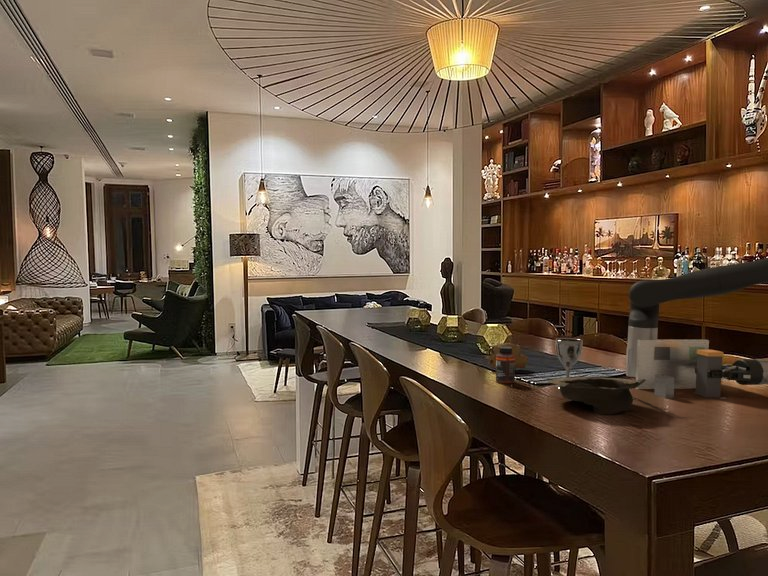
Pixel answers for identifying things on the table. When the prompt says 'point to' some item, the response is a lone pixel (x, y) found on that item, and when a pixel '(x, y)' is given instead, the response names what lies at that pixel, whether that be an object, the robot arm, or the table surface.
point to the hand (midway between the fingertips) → (702, 372)
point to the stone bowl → (599, 392)
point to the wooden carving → (519, 358)
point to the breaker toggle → (705, 363)
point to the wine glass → (568, 352)
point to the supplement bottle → (505, 366)
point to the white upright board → (668, 365)
